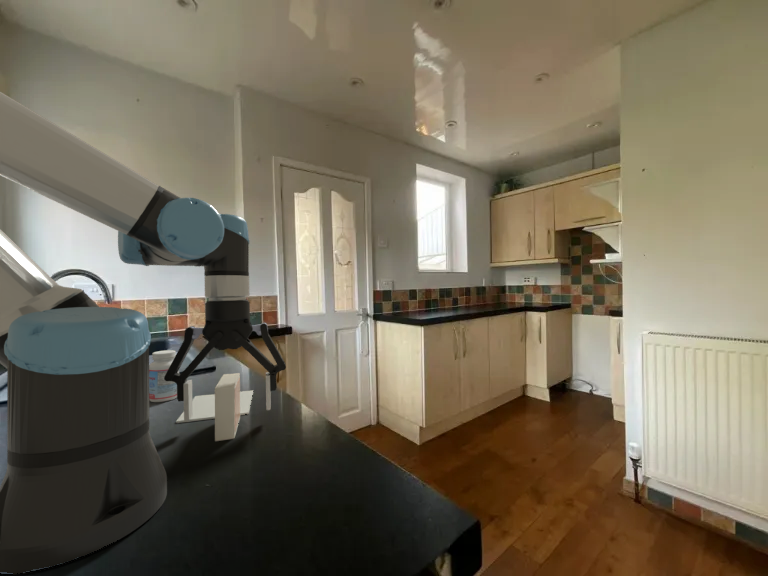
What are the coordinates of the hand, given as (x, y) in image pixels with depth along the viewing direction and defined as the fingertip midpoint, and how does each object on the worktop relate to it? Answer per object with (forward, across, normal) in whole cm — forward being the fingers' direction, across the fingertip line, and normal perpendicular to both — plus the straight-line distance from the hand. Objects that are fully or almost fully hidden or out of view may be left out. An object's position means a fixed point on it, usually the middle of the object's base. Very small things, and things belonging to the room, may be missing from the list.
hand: (230, 412), depth 60 cm
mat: (+3, +4, -14) cm, 15 cm away
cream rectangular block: (+3, 0, 0) cm, 3 cm away
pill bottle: (+3, +17, -24) cm, 30 cm away
